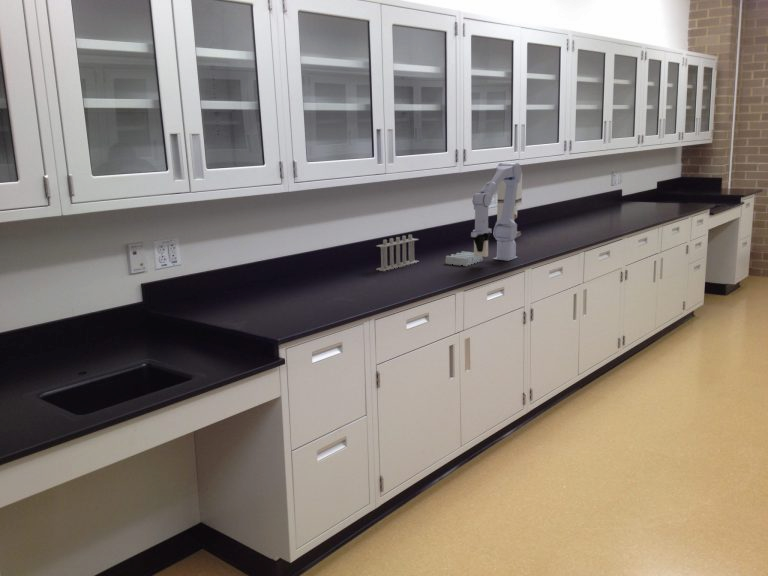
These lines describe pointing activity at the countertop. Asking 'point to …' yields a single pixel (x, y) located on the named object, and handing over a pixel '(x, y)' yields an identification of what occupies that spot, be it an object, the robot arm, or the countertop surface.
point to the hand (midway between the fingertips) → (481, 251)
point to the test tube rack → (397, 253)
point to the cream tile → (484, 251)
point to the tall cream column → (501, 200)
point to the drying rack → (463, 259)
